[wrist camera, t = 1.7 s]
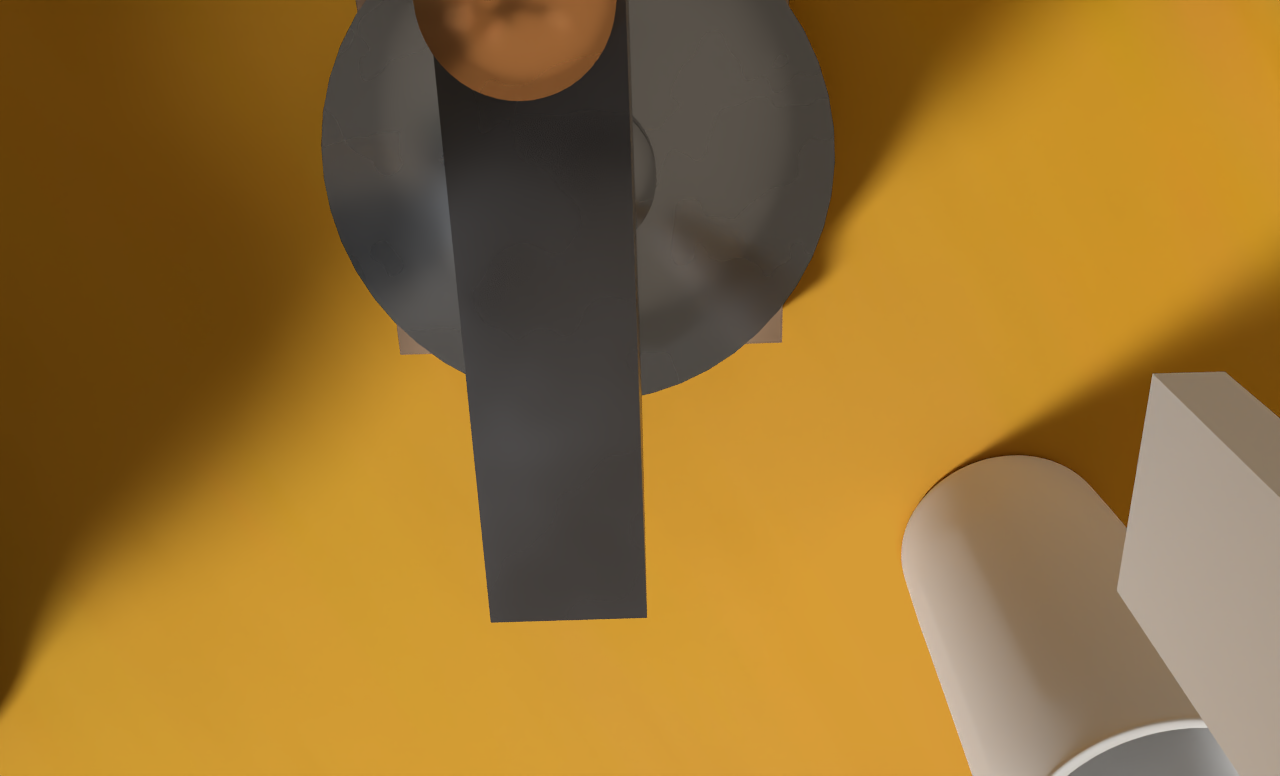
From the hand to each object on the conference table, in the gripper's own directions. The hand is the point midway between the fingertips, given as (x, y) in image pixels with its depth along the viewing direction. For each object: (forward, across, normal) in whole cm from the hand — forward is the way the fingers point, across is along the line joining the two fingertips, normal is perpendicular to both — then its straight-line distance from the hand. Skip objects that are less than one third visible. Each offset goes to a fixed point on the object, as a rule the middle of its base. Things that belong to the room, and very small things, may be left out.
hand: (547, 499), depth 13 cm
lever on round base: (+17, 0, 0) cm, 17 cm away
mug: (+19, +12, -14) cm, 27 cm away
